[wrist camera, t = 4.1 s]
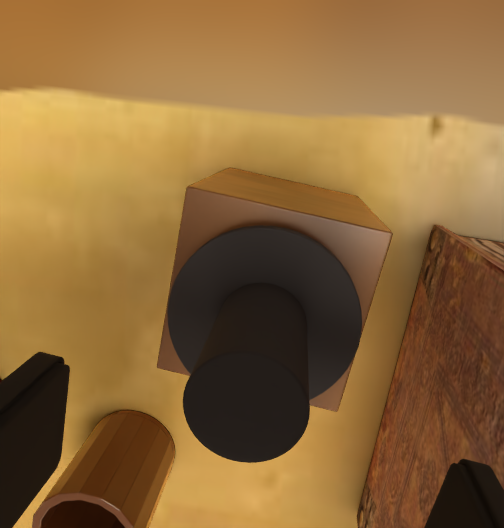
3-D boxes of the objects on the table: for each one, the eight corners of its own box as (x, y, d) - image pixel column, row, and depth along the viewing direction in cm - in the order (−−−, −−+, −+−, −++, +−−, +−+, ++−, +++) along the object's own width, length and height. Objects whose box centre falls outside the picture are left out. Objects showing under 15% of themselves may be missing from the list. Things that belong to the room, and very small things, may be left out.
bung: (167, 361, 22) (93, 487, 14) (195, 199, 19) (125, 242, 12) (330, 401, 21) (346, 552, 14) (378, 241, 19) (431, 314, 11)
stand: (205, 288, 33) (156, 368, 22) (229, 167, 31) (186, 185, 19) (324, 316, 33) (337, 412, 21) (358, 196, 30) (393, 233, 19)
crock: (88, 471, 39) (28, 565, 30) (97, 401, 37) (35, 481, 28) (168, 491, 39) (130, 592, 30) (181, 422, 37) (145, 509, 28)
